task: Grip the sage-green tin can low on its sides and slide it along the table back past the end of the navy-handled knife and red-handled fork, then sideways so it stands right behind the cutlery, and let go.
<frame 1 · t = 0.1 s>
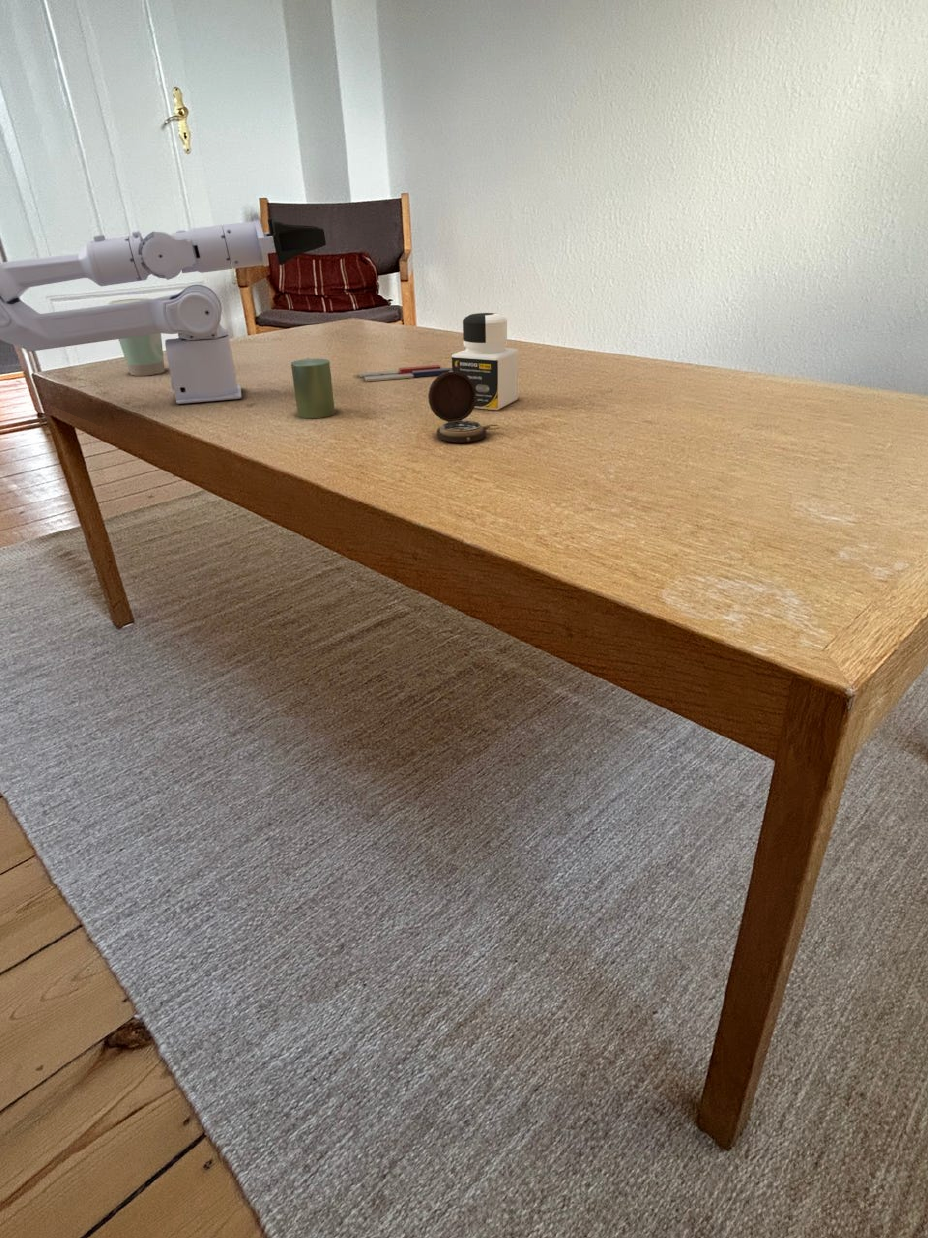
hand: (321, 235, 110), 22 cm above the table, tool horizontal, fingers open, 7 cm apart
medicine bottle: (485, 404, 108), on the table
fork: (402, 373, 129), on the table
knife: (409, 376, 126), on the table
coffee cup: (148, 373, 135), on the table
compass: (467, 436, 94), on the table
can: (316, 413, 105), on the table
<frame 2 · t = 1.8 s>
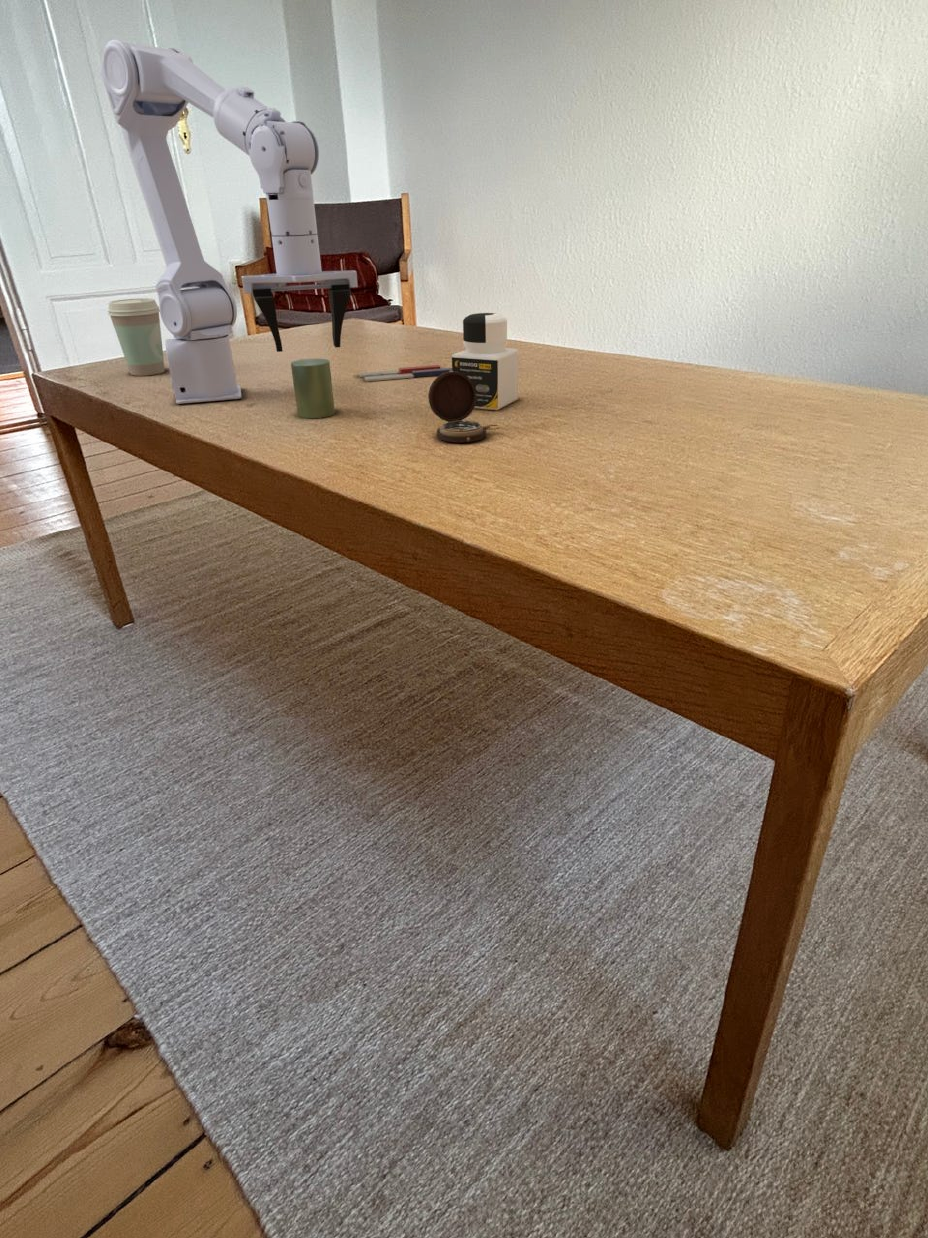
hand: (308, 348, 101), 9 cm above the table, tool pointing down, fingers open, 7 cm apart
nothing on the table moved.
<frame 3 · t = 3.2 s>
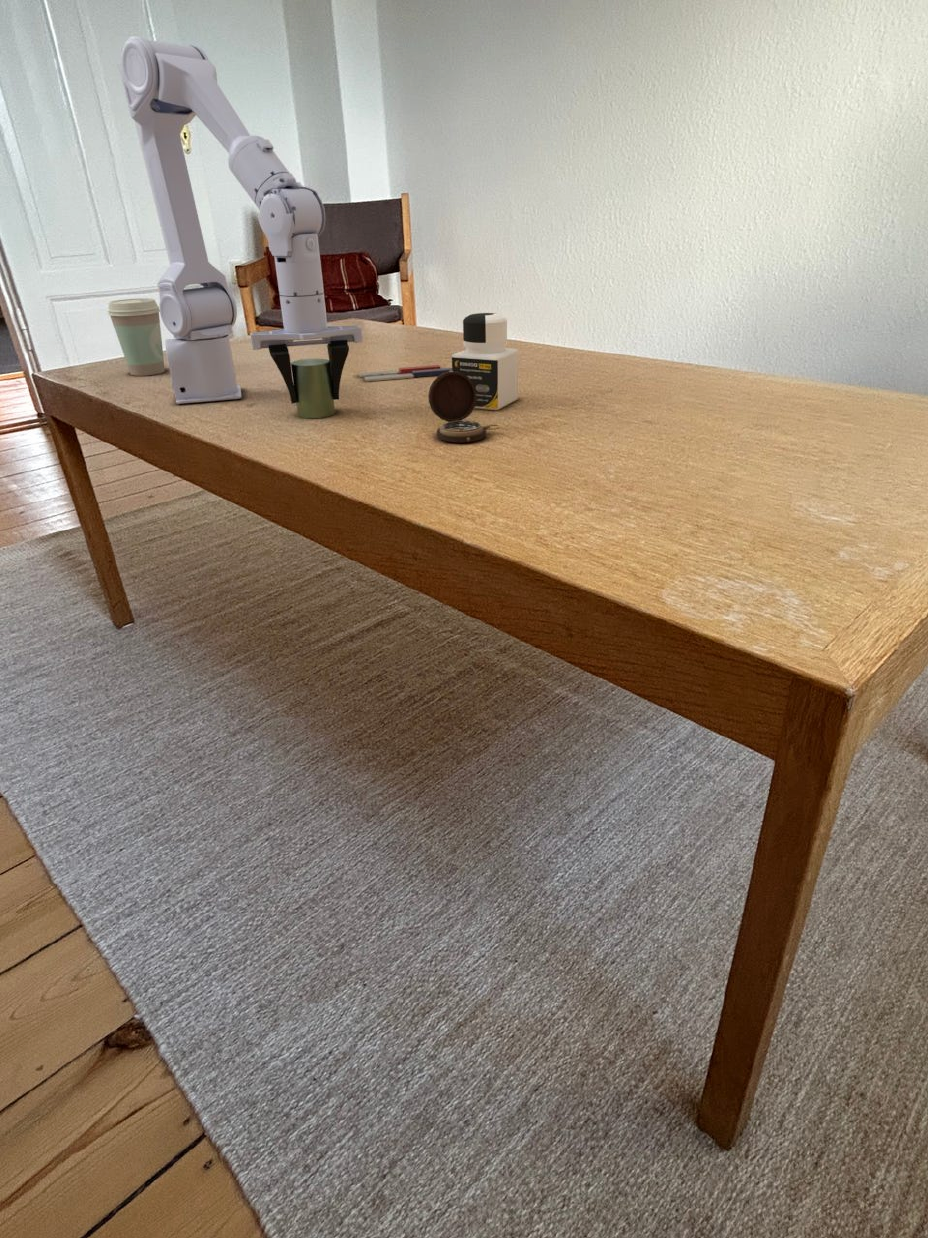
hand: (314, 399, 104), 2 cm above the table, tool pointing down, fingers closed on can, 5 cm apart
can: (316, 413, 105), on the table, touching gripper
everything else where it was.
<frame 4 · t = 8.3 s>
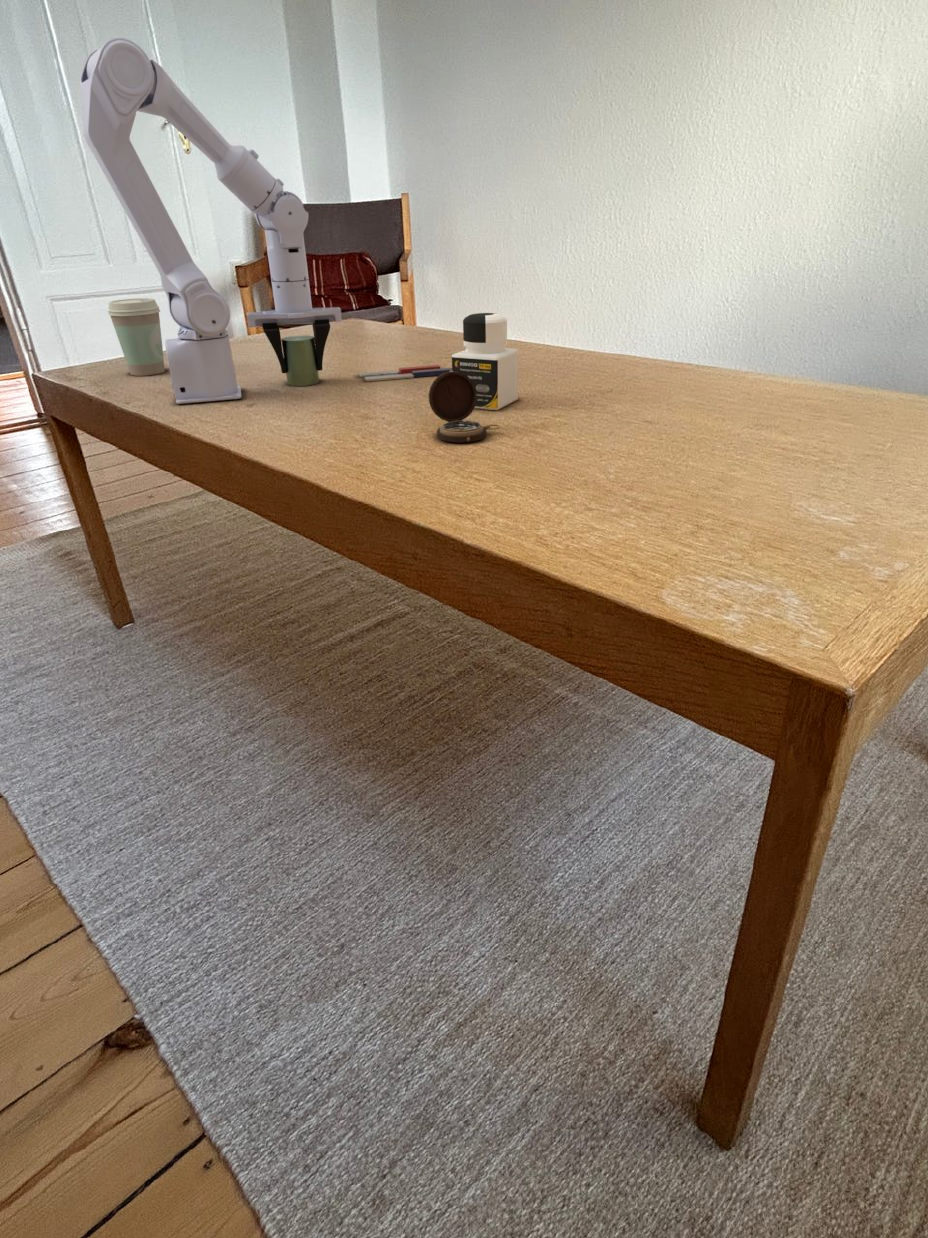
hand: (301, 370, 123), 2 cm above the table, tool pointing down, fingers closed on can, 5 cm apart
can: (303, 382, 124), on the table, touching gripper
everything else where it was.
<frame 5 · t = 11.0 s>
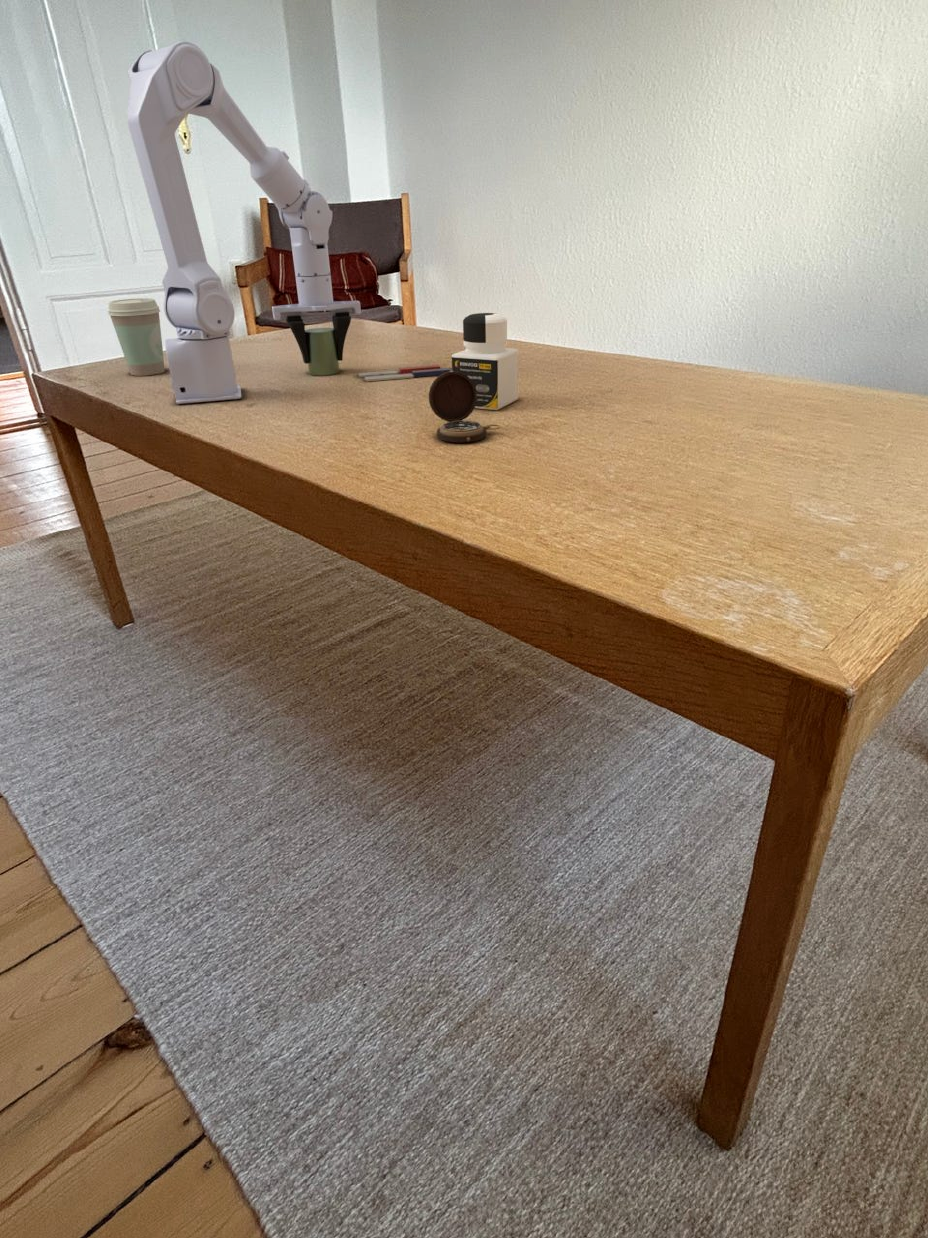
hand: (322, 361, 130), 2 cm above the table, tool pointing down, fingers closed on can, 5 cm apart
can: (324, 372, 131), on the table, touching gripper
everything else where it was.
when the fingers open (2 cm above the table, at t = 13.3 s): can stays where it is, on the table.
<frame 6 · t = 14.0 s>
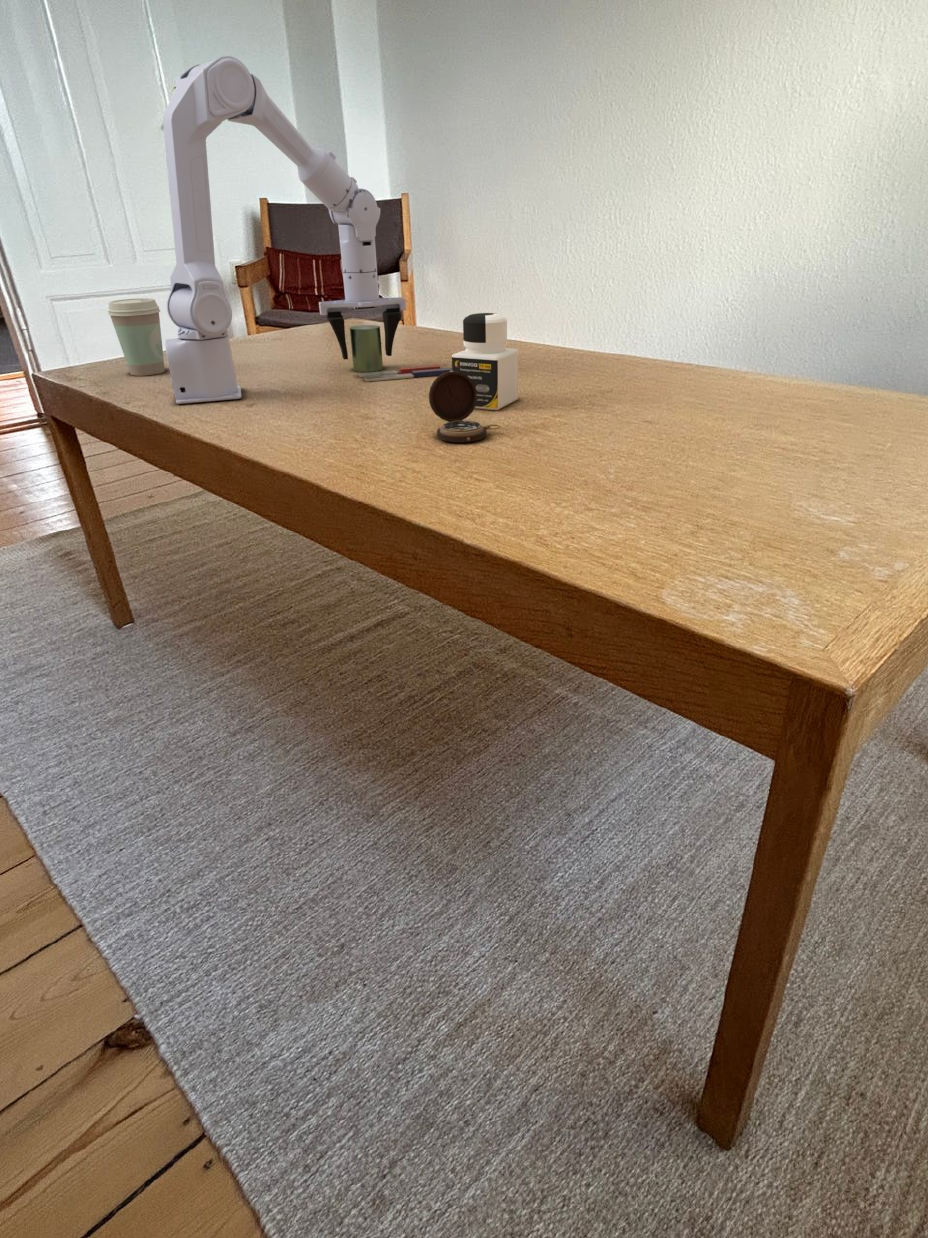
hand: (367, 356, 131), 2 cm above the table, tool pointing down, fingers open, 7 cm apart
can: (368, 369, 132), on the table
everything else where it was.
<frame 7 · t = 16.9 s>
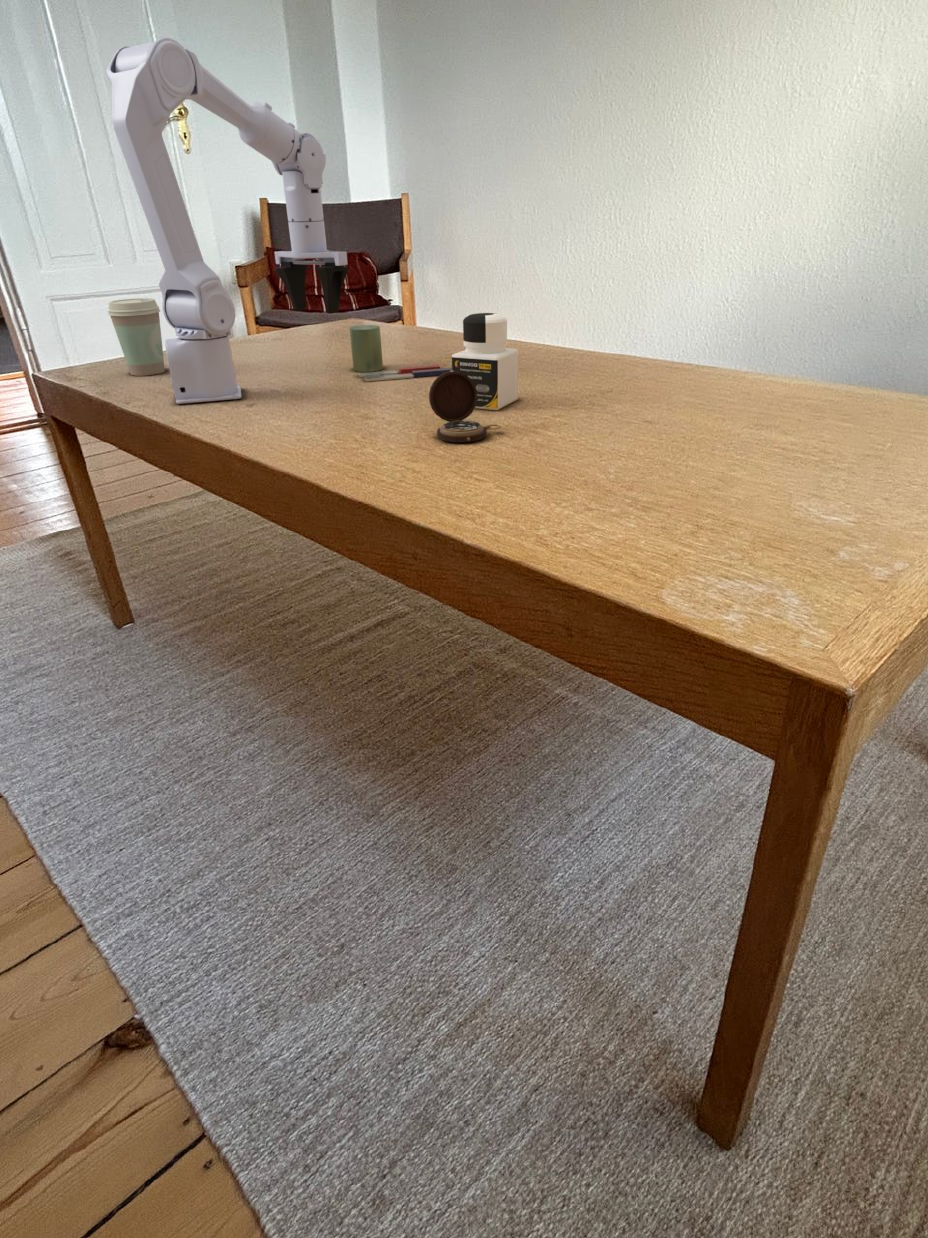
hand: (316, 311, 128), 10 cm above the table, tool pointing down, fingers open, 7 cm apart
nothing on the table moved.
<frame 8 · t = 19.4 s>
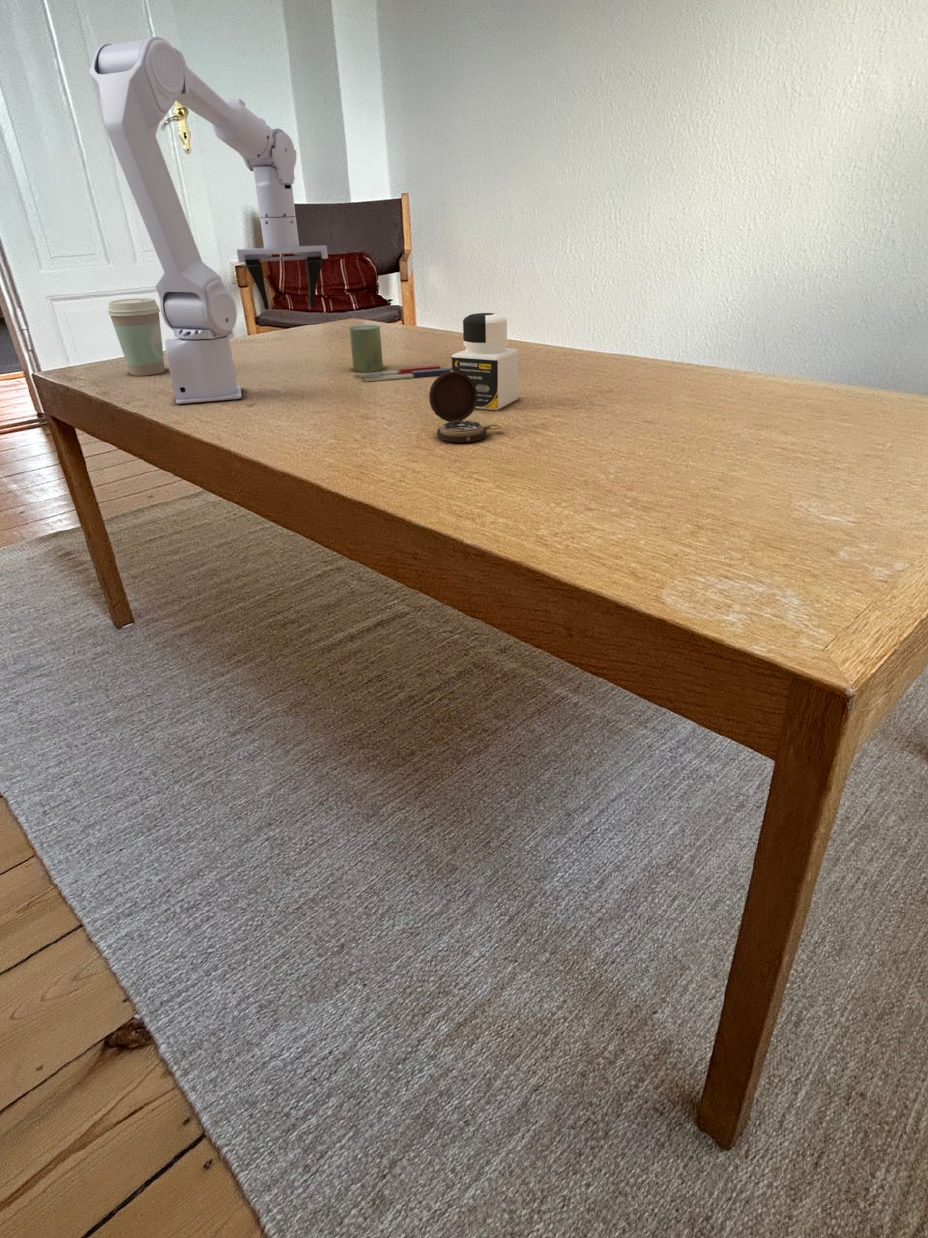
hand: (289, 307, 128), 10 cm above the table, tool pointing down, fingers open, 7 cm apart
nothing on the table moved.
at the end: can inside the target area on the table beside the knife (0.7 cm from its centre), on the table; can tilted 0°; the gripper is holding nothing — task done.
